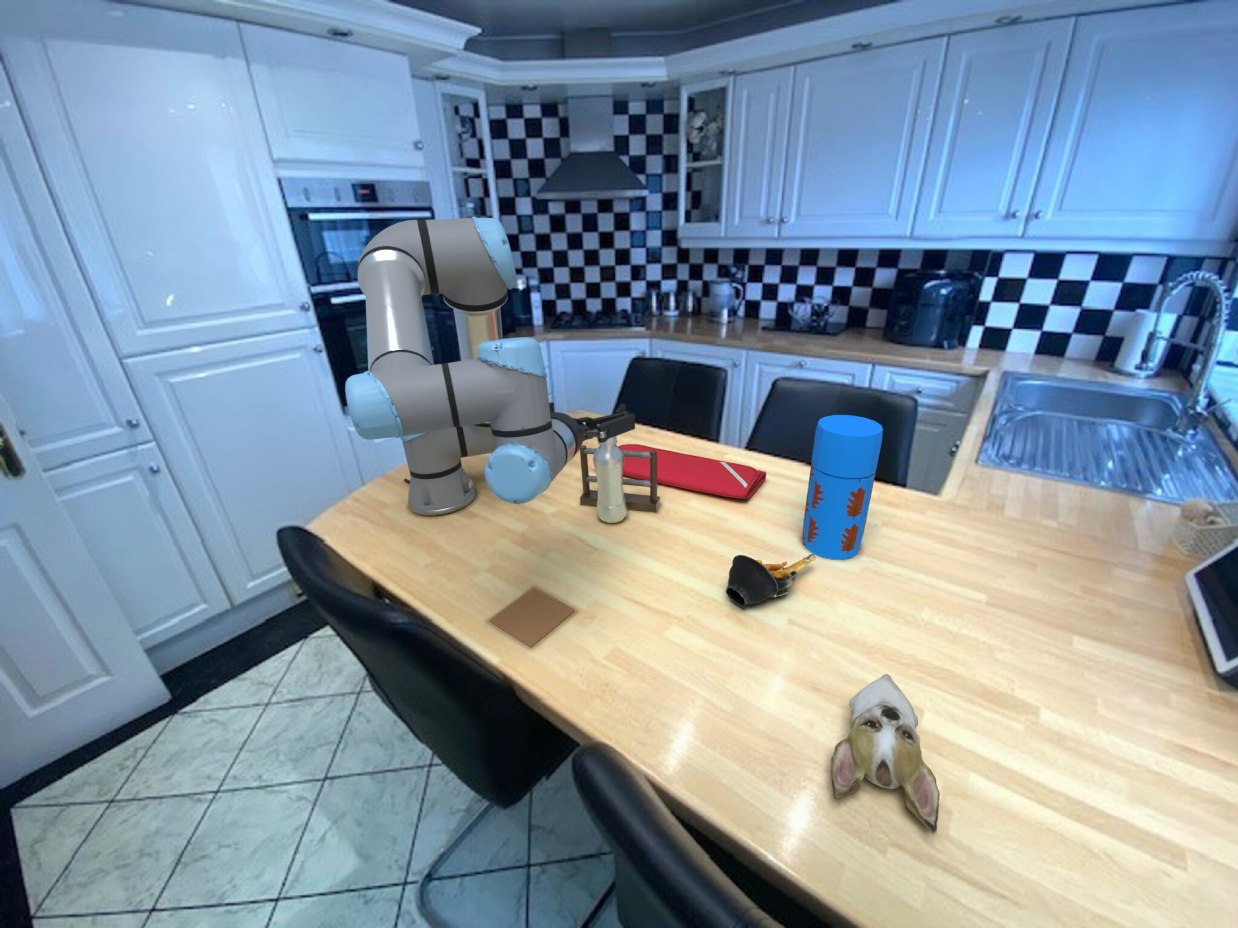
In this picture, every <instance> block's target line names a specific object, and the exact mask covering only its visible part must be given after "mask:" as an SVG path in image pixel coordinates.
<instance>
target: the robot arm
mask: <svg viewBox="0 0 1238 928" xmlns="http://www.w3.org/2000/svg"><path fill="white" fill-rule="evenodd" d="M515 267H516V266H515V262H514V258H513V254H512V249H511V246H510V242H509V239H508V235H507V233H506V230H505V228H504V226H503V224H502V222H500V221H499V220H498V219H496V218H493V217H476V216H471V217H461V218H460V217H459V218H439V219H438V218H437V219H409V220H404V221H399V222H397V223H394V224H391V225H389V226H388V227H386V228H384V229H383V230H381V231H380V232H379V233H377V234H376V235H374V237H372V239H371V240H370V241H369V242H368V243H367V245H366V246H365V247H364V248H363V250H362V252H361V255H360V257H359V259H358V263H357V271H356V273H357V284H358V286H359V289H360V290H361V292H362V294H363V295H364V296H365V317H366V342H367V343H366V344H367V345H366V346H367V366H368V367H367V369H368V370H366V371H365V370H364V372H362V373H357V374H353V375H351V376H349V377H348V378H347V379H346V381H345V384H344V387H345V388H344V393H345V399H346V404H347V409H348V413H349V417H350V419H351V422H352V426H353V427H354V430H355V431H356V433H357V434H358V436H359V437H361V438H362V439H363V440H367V441H373V440H381V439H391V438H392V439H393V438H395V439H400V441H401V442H402V446H403V450H404V454H405V458H406V462H407V463H406V464H407V467H408V470H409V475H410V479H408V478H404V479H403V481H404V482H406V483H408V484H409V488H408V496H407V501H408V505H409V509H410V511H411V512H412V513H414V514H416V515H420V516H423V517H425V516H426V517H437V516H443V515H448V514H452V513H455V512H457V511H460V510H462V509H464V508H466V507H467V506H469V505H470V504H471V503H472V502H473V501H474V500H475V497H476V490H475V487H474V484H473V483H474V482H473V480H472V479H471V478H470V477H469V476H468V474H467V472H466V470H465V468H463V467H464V466H463V463H462V459H463V458H468V457H475V456H482V455H487V454H490V455H489V457H488V458H487V461H486V463H485V466H484V478H485V482H486V485H487V486H488V488H489V490H490V491H491V492H492V493H493V495H494V496H496V497H497V498H498V499H499V500H501V501H504V502H506V503H509V504H514V505H522V504H526V503H530V502H531V501H533V500H535V499H536V498H537V497H539V495H540V494H542V493H544V492H546V491H547V490H548V489H549V488H550V485H551V484H552V482H553V481H554V480H555V479H556V477H557V476H558V475H559V474H560V473H561V472H562V470H564V468H566V466H567V465H568V464H569V462H571V460H573V458H574V457H575V456H576V455H577V454H578V452H580V448H581V446H582V445H583V443H584V442H585V441H588V440H591V439H594V438H596V440H597V443H598V442H600V443H603V442H606V441H607V440H608V439H610V438H612V437H615V436H617V437H618V436H620V435H622V434H625V433H628V432H631V431H634V430H636V414H635V413H632V412H631V413H629V411H627V403H621V404H620V405H619V406H617V408H616V409H615V410H614V413H612V414H608V415H604V416H598V417H593V418H592V417H590V416H584V417H583V416H582V417H578V418H576V417H572V416H570V415H569V414H566V413H564V412H560V411H559V412H557V411H555V402H554V401H553V402H551V401H550V399H549V390H548V389H549V388H548V381H547V377H548V375H547V372H546V368H545V362H544V357H543V353H542V347H541V345H540V343H539V341H537V340H536V339H535V338H533V337H527V336H525V337H510V338H509V337H508V338H503V326H502V325H503V324H502V311H501V307H503V306H504V305H505V304H506V302H507V301H508V298H509V293H508V291H509V290H512V289H515V288H516V287H517V285H518V279H517V272H516V268H515ZM425 295H427V296H428V295H442V298H443V301H444V303H445V304H446V305H447V306H448V307H450V308H451V309H453V314H454V320H455V327H456V333H457V341H458V347H459V354H460V360H458V361H453V362H446V363H445V362H444V363H437V364H435V362H434V357H433V352H432V347H431V341H430V335H429V331H428V326H427V325H428V324H427V320H426V315H425V309H424V304H423V298H422V297H423V296H425Z"/></svg>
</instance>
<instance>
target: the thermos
mask: <svg viewBox="0 0 1238 928" xmlns="http://www.w3.org/2000/svg"><path fill="white" fill-rule="evenodd" d="M883 431H884V428H883V426H882V424H881V423H879V422H877V421H876V420H873V419H871V418H867V417H862V416H857V415H849V414H834V415H828V416H824V417H822V418H820V419H819V420H818V421H817V424H816V428H815V433H814V438H813V439H814V440H813V447H812V453H811V454H812V455H811V462H810V470H809V471H810V472H809V477H808V484H807V492H806V500H805V507H804V515H803V523H802V538H801V539H802V544H803V546H804V547H805V549H806V550H807V551H809V552H811V554H814V555H815V556H819V557H821V558H825V559H830V560H833V561H834V560H839V561H841V560H842V561H843V560H848V559H853V558H854V557H855V556H857V555H858V553H859V551H860V548H861V544H862V541H863V537H864V534H865V529H866V524H867V519H868V514H869V509H870V503H871V498H872V493H873V488H874V484H875V479H876V473H877V468H878V462H879V457H880V453H881V447H882V443H883V434H884V433H883Z"/></svg>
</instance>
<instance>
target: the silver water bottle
mask: <svg viewBox="0 0 1238 928" xmlns="http://www.w3.org/2000/svg"><path fill="white" fill-rule="evenodd" d="M617 438H618V436H615V437H612V438H610V439H608V440H607V441H606V442H603V443H600V442H598V441H597V444H598V445H599V446H598V447H597V450H596V451H595V453H594V454H592V463H593V468H594V472H595V476H596V477H597V482H596V483H597V490H598V500H597V506H596V513H597V517H598V518H599V519H600V520H601V521H602V522H605V523H608V524H615V523H619V522H621V521H623V520H624V519H625V518H626V516H627V513H628V510H627V504H626V500H625V497H624V493H625V491H624V485H623V479H624V475H623V468H624V455H623V453H622V451H621V450H620V449H619V447H618V446H619V445H617V444H618V439H617Z"/></svg>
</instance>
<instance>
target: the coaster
mask: <svg viewBox="0 0 1238 928" xmlns="http://www.w3.org/2000/svg"><path fill="white" fill-rule="evenodd" d="M575 612H576V609H574V608H572V607H570V606H569V605H567V604H565V603H563V602H561V601H559V600H557V599H556V598H554V597H552V596H550V595H549V594H547V593H544V592H543V591H541V590H539V589H537V588H535V587H532V588H530V590H528V591H527V592H525V593H524V594H522V595H521V596H519V598H517V599H516V600H514V601H513V602H512V603H510V604H509V605H507V606H506V607H505V608H503V609H501V610H500V611H499V612H498V613H497V614H495V615H494V616H492V617H490V618H489V622H490V623H491V624H493V625H494V626H496V627H498V628H499V629H501V630H502V631H504V632H506V634H508V635H510V636H512V637H514V638H515V639H516V640H518V641H520V642H521V643H523V644H524V645H526V646H528V647H529V648H533V647H534V646H535V645H537V644H538V643H539V642H540V641H541V640H543V639H544V638H545V637H546V636H547V635H549V634H550V633H551V632H552V631H553V630H554V629H556V628H557V627H558V626H559V625H560V624H561V623H563V622H564V621H566V619H568V618H569V617H570V616H571V615H572V614H574V613H575Z"/></svg>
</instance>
